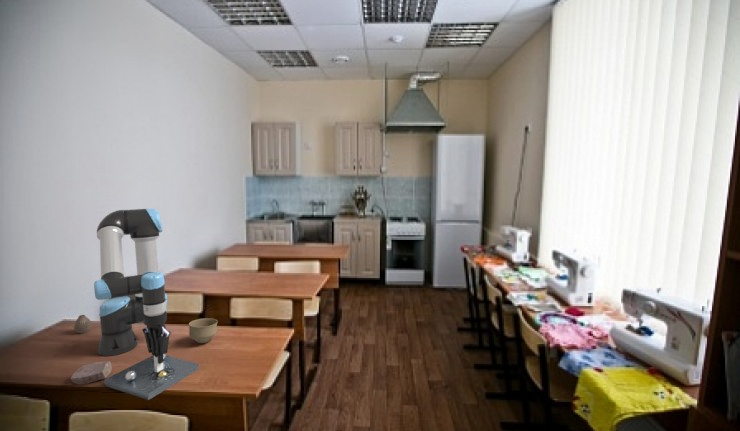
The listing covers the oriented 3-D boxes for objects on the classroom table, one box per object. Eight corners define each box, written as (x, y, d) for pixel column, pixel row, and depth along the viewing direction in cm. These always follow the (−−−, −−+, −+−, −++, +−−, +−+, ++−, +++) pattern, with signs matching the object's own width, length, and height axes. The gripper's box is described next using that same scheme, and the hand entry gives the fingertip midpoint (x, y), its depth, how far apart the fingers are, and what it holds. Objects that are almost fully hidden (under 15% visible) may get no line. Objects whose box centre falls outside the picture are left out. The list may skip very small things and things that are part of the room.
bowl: (223, 339, 174) (222, 319, 173) (199, 349, 163) (198, 329, 162) (208, 333, 181) (207, 314, 180) (184, 343, 170) (183, 323, 169)
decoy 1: (154, 361, 149) (154, 353, 148) (162, 357, 152) (161, 349, 152) (160, 362, 147) (160, 354, 147) (168, 358, 151) (167, 350, 150)
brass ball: (154, 379, 138) (157, 371, 138) (161, 375, 141) (164, 368, 141) (160, 384, 137) (163, 376, 137) (167, 380, 140) (171, 372, 140)
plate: (104, 385, 135) (104, 379, 135) (157, 358, 156) (157, 353, 156) (148, 400, 127) (148, 393, 126) (198, 369, 147) (198, 363, 147)
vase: (71, 334, 180) (69, 317, 179) (84, 328, 187) (82, 312, 186) (82, 335, 179) (80, 318, 178) (95, 329, 185) (93, 313, 185)
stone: (80, 374, 144) (79, 363, 143) (114, 370, 147) (113, 359, 146) (68, 387, 135) (67, 375, 135) (104, 382, 138) (103, 371, 138)
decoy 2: (123, 381, 134) (122, 373, 133) (132, 376, 137) (131, 368, 137) (129, 383, 133) (129, 374, 132) (138, 378, 136) (138, 370, 135)
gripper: (134, 314, 136) (138, 371, 138) (158, 318, 131) (162, 378, 134) (152, 307, 143) (156, 362, 145) (175, 311, 138) (179, 368, 141)
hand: (159, 370), depth 140 cm, fingers closed
